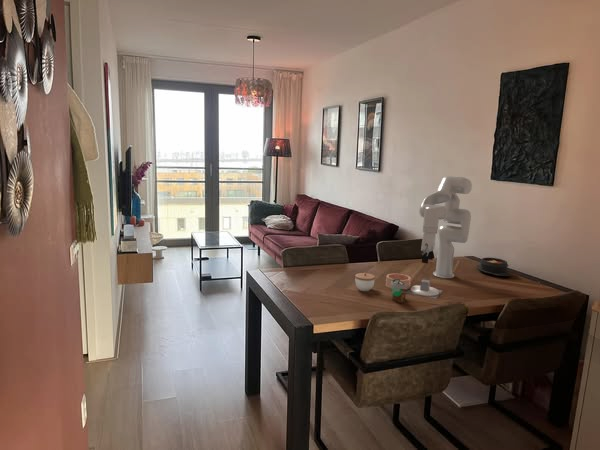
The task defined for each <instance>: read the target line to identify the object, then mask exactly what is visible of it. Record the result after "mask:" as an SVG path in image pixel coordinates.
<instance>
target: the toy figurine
mask: <svg viewBox="0 0 600 450" xmlns="http://www.w3.org/2000/svg"><path fill="white" fill-rule="evenodd" d="M391 286H392V289H391V300H392V302H395V303H399V304H405V302H406V297H407V296H406V294H407V293H406V292H407V290H408V289H407V285H404V283H403V282H401V281H400V278H396V279H393V280H392V282H391ZM406 289H407V290H406Z"/></svg>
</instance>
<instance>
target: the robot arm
mask: <svg viewBox="0 0 600 450" xmlns="http://www.w3.org/2000/svg"><path fill="white" fill-rule="evenodd" d="M472 189H473V185H472V181H471V180H470V179H469V178H466V177H465V176H464V177H463V176H452V175H451V176H449V175H448V176H447V175H446V176H444V177H443V178H442V179H441V180H440V182H439V184H438V187H437V189H436V191H434V192H432V193H431V194H429V195H428V196H426V197H425V198H424V199H423V201H422V203H421V204H420V207H419V211H418V212H419V216H420V217H421V218H423V225H422V233H423V235H422V241H421V248H420V251H421V252H422V253H421V254H422V256H421V263H422V264H429V260H431V261H433V259H434V249H435V247H436V246H435V245H436V234H437V238H438V240H437V241H438V243H437V244H438V246H437V255H436V256H437V257H436V266H435V271H433V273H432V275H433V276H435V277H437V278H441V279H453V278H455V274H454V273H453V266H454V257H455V256H454V255H455V246H454V244H453V243H459V244H465V243H467V242H468V239H469V234H470V233H469V232H470V226H471V220H472V214H471V211H470V210H469V209H465V208H460V203H461V199H460V198H459V196H458V195H459V194H462V195H468V194H470V192H471V191H472ZM441 204H444V205H441ZM440 220H443V221H444V223H447V224H448V225H446V224H444V225H441V226H439V221H440ZM449 224H452V225H449ZM456 225H460V226H456ZM452 242H453V243H452Z"/></svg>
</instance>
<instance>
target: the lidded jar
mask: <svg viewBox="0 0 600 450" xmlns="http://www.w3.org/2000/svg"><path fill="white" fill-rule="evenodd" d="M354 277H355V279H354V280H355V285H356V287H357V289H358V290H359V291H361V292H370V290H371V289H372V288H373V287H374V285H375V279H376V276H375V275H374V274H371V273H367V272H360V273H355V275H354Z"/></svg>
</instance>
